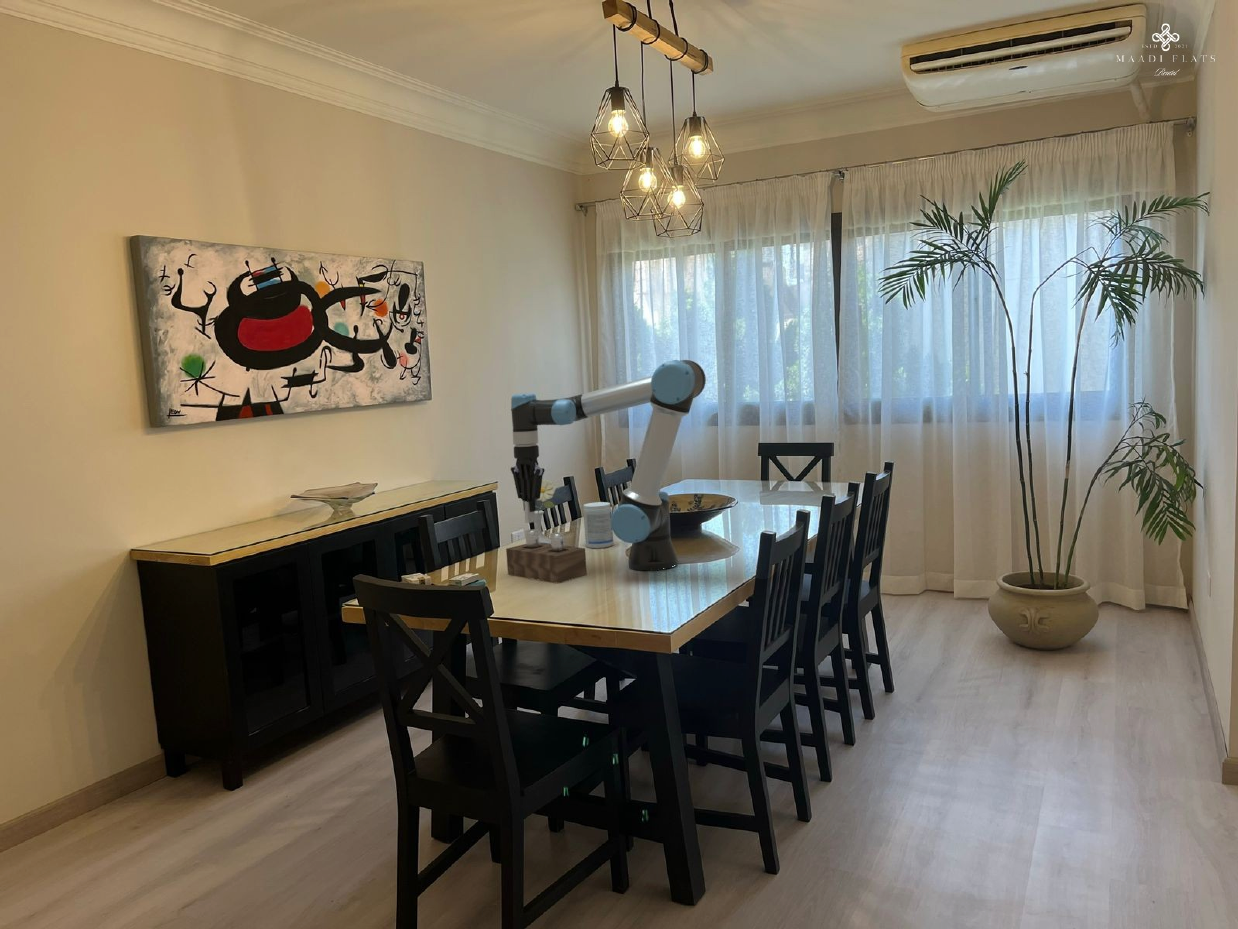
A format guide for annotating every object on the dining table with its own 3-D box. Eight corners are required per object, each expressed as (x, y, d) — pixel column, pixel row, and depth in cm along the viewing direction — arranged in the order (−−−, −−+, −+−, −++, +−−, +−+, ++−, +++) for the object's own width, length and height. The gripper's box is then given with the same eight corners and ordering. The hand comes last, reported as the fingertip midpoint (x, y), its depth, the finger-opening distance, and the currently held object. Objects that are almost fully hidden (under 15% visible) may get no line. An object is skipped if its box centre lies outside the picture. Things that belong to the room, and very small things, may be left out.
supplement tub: (618, 545, 313) (616, 503, 312) (595, 550, 308) (592, 507, 307) (603, 542, 322) (601, 500, 320) (580, 546, 316) (577, 504, 315)
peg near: (567, 557, 272) (566, 533, 271) (558, 560, 269) (556, 535, 268) (558, 556, 275) (557, 532, 274) (548, 559, 272) (547, 534, 271)
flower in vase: (517, 555, 307) (511, 481, 304) (530, 548, 317) (526, 477, 315) (552, 556, 302) (548, 481, 300) (565, 548, 313) (561, 476, 310)
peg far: (542, 554, 279) (541, 530, 279) (533, 556, 277) (531, 532, 276) (533, 552, 282) (532, 529, 281) (524, 555, 279) (522, 531, 278)
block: (586, 574, 273) (585, 548, 272) (557, 583, 264) (556, 556, 264) (536, 566, 288) (535, 541, 287) (507, 574, 279) (506, 548, 278)
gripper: (549, 444, 274) (554, 521, 277) (520, 443, 283) (525, 518, 285) (531, 447, 268) (535, 526, 271) (502, 445, 277) (506, 522, 280)
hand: (530, 521), depth 278 cm, fingers closed
